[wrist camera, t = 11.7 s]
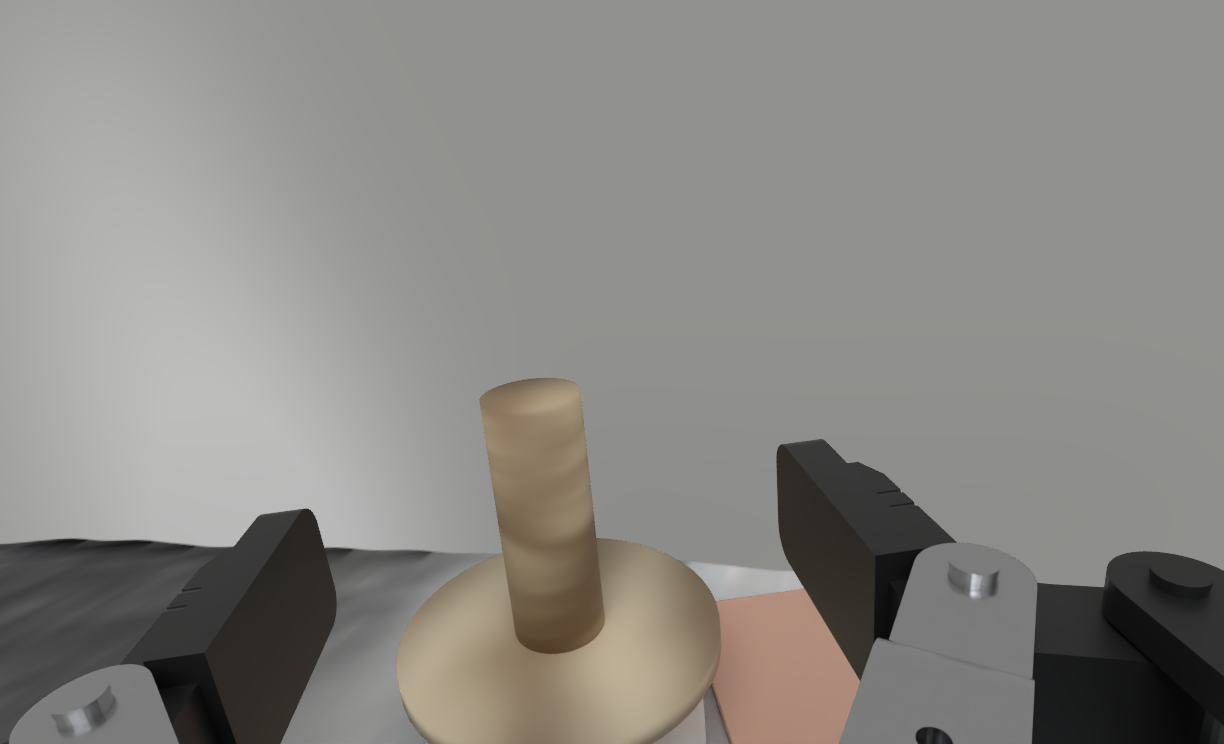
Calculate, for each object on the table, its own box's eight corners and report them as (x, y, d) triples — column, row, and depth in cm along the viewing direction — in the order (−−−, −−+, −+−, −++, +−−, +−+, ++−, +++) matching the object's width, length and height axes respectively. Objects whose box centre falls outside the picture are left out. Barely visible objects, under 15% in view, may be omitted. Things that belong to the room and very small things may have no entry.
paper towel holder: (686, 538, 32) (673, 333, 29) (763, 745, 21) (755, 441, 18) (429, 571, 31) (389, 364, 28) (362, 803, 20) (283, 497, 17)
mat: (937, 577, 35) (937, 570, 35) (1181, 831, 22) (1183, 822, 21) (687, 611, 34) (686, 605, 34) (781, 898, 21) (780, 889, 21)
